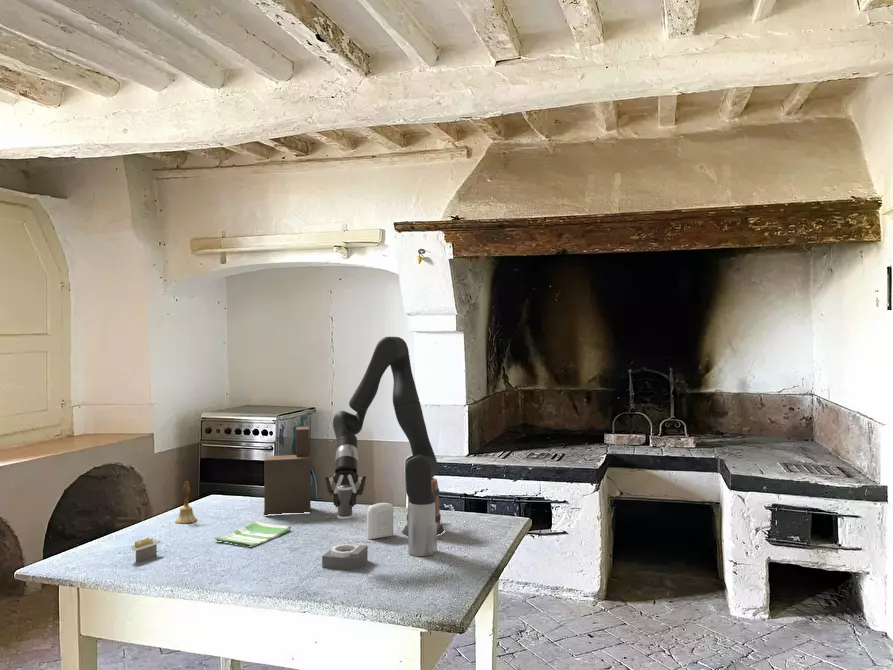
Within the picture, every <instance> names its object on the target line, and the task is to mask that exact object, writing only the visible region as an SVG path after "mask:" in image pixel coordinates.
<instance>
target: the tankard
mask: <svg viewBox="0 0 893 670" xmlns="http://www.w3.org/2000/svg"><path fill="white" fill-rule="evenodd" d="M431 489H432V492H434V494H435V522H436V523H437V535H438V534H441V533H442V532H443V531H444V530H445V529H444V527H443V525H442V524H441V517H442V515H441V511H440V510H441V509H440V488H439V484H438V479H437V478H436V477H435V478H434V477H433V478H431ZM406 521H407V522H406V523H407V524H406V525H405V526H404V528H403V529H402V530H401V534H402V533H403V534H404V535H406V536H405V537H407V536H408V513H407V514H406ZM403 534H402V535H403ZM404 535H403V536H404Z"/></svg>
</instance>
